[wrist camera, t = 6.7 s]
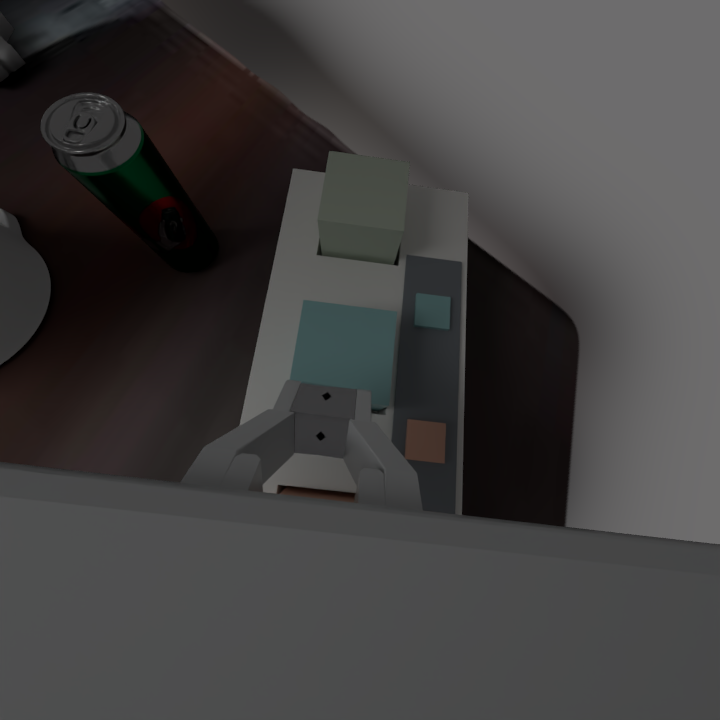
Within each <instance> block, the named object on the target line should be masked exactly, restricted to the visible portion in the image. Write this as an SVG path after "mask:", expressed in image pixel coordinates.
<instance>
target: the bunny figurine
mask: <svg viewBox="0 0 720 720" xmlns="http://www.w3.org/2000/svg"><path fill="white" fill-rule="evenodd" d="M13 31H14V28H13V27H12V26H11V25H10V23H9V22H8V21H7V20H6V18H5V17H4V16H3V15H2V13H1V12H0V82H1V81H3V80H4V79H5V78H7V77H8V76H9V74H10V73H12V72H15V71H16V70H17V69H19V68H20V67H22V66H23V65H24V64H26V63H25V61H24V60H23V59H22V58H21V57H20V56H19V54H18V53H17V52H16V51H15V50H14V48H13V47H12V46H11V45H10V44H8V43H7V41H8V39H9V38H10V36H11V34H12V32H13Z"/></svg>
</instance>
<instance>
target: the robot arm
mask: <svg viewBox="0 0 720 720" xmlns="http://www.w3.org/2000/svg"><path fill="white" fill-rule="evenodd" d="M50 292H51V281H50V275H49V271H48V269H47V266H46V264H45V262H44V260H43V259H42V257H41V256H40V255H39V253H38V252H37V251H36V250H35V249H34V248H33V247H32V246H30V245H29V244H28V243H27V242H26V241H25V239H24V238H23V237H22V233H21V229H20V226H19V223H18V221H17V219H16V217H15V216H14V215H12V214H10V213H8V212H6V211H5V210H3V209H1V208H0V365H1V364H2V363H4V362H5V361H6V360H8V359H9V358H10V357H12V356H13V355H14V354H15V353H16V352H18V351H19V350H20V349H21V348H22V347H23V346H24V345H25V344H26V343H27V341H28V340H29V339H30V338H31V337H32V335H33V334H34V333H35V331H36V330H37V328H38V327H39V325H40V323H41V321H42V319H43V317H44V315H45V313H46V310H47V307H48V304H49V299H50ZM294 453H301V454H312V455H321V456H328V457H335V458H342V459H344V462H345V464H346V466H347V468H348V470H349V472H350V474H351V476H352V478H353V480H354V482H355V484H356V486H357V489H356V494H355V498H354V503H353V502H344V501H336V500H327V499H318V498H310V497H301V496H292V495H284V494H275V493H266V492H263V484H264V483H265V482H266V481H267V480H268V479H269V478H270V477H271V476H272V475H273V474H274V473H275V472H276V471H277V470H278V469H279V468H280V467H281V466H282V465H283V464H284V463H286V462H287V461H288V460H289V459H290V458H291V457H292V456H293V455H294ZM0 720H720V544H709V543H701V542H692V541H684V540H675V539H666V538H657V537H648V536H639V535H631V534H622V533H613V532H605V531H595V530H587V529H579V528H570V527H561V526H553V525H544V524H535V523H527V522H518V521H509V520H501V519H492V518H483V517H475V516H466V515H457V514H449V513H440V512H431V511H423V509H422V502H421V496H420V489H419V483H418V476H417V473H416V471H415V470H414V469H413V468H412V466H411V465H410V464H409V463H408V462H407V460H406V459H405V458H404V457H403V455H402V454H401V453H400V452H399V451H398V449H397V448H396V447H395V446H394V444H393V443H392V442H391V441H390V440H389V438H388V437H387V436H386V435H385V433H384V432H383V431H382V430H381V429H380V427H379V426H378V425H377V424H376V423H375V422H371V390H365V389H352V388H344V387H336V386H329V385H323V384H316V383H309V382H303V381H302V382H301V381H295V380H287V381H286V382H285V384H284V386H283V388H282V390H281V392H280V395H279V397H278V399H277V401H276V403H275V405H274V408H273V409H268V410H266V411H264V412H262V413H261V414H259V415H257V416H256V417H254V418H252V419H251V420H249V421H247V422H246V423H244V424H242V425H240V426H239V427H237V428H235V429H234V430H232V431H230V432H229V433H227V434H225V435H223V436H222V437H220V438H218V439H217V440H215V441H213V442H212V443H210V444H208V445H207V446H205V447H204V448H203V449H202V451H201V452H200V454H199V455H198V457H197V458H196V460H195V461H194V463H193V464H192V466H191V467H190V469H189V470H188V472H187V473H186V475H185V476H184V478H183V479H182V481H181V482H180V483H179V482H170V481H162V480H153V479H144V478H136V477H127V476H118V475H110V474H101V473H92V472H83V471H75V470H66V469H57V468H49V467H40V466H31V465H22V464H14V463H5V462H0Z"/></svg>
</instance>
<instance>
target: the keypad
mask: <svg viewBox="0 0 720 720" xmlns="http://www.w3.org/2000/svg"><path fill="white" fill-rule="evenodd" d="M324 179H325V173H323V172H315V171H308V170H301V169H294V168H293V172H292V177H291V181H290V186H289V191H288V196H287V201H286V205H285V210H284V215H283V220H282V224H281V229H280V234H279V239H278V244H277V248H276V253H275V258H274V263H273V268H272V272H271V277H270V282H269V287H268V292H267V296H266V301H265V306H264V311H263V316H262V320H261V325H260V330H259V335H258V340H257V344H256V349H255V354H254V359H253V364H252V368H251V373H250V378H249V383H248V388H247V392H246V397H245V402H244V407H243V412H242V416H241V421H240V425H242V424H244V423H246V422H247V421H249V420H251V419H252V418H254V417H256V416H257V415H259V414H261V413H262V412H264V411H266V410H268V409H273V408H274V405H275V403H276V401H277V399H278V397H279V395H280V392H281V390H282V388H283V386H284V384H285V382H286V381H287V380H290V375H291V369H292V363H293V357H294V352H295V346H296V340H297V334H298V329H299V323H300V317H301V311H302V306H303V300H309V301H317V302H325V303H333V304H341V305H349V306H357V307H365V308H373V309H381V310H389V311H397V319H396V331H395V343H394V354H393V366H392V378H391V390H390V401H389V406H388V407H386V408H383V409H381V410H379V411H374V410H371V422H375V423H376V424H377V425H378V426H379V427H380V429H381V430H382V431H383V432H384V433H385V435H386V436H387V437H388V438H389V440H390V441H391V442H392V443H393V444H394V446H395V447H396V448H397V449H398V451H399V452H400V453H401V454H402V455H403V457H404V458H405V459H406V460H407V462H408V463H409V464H410V465H411V466H412V468H413V469H414V470H415V471H416V473H417V476H418V483H419V489H420V496H421V502H422V509H423V511H431V512H440V513H449V514H457V515H462V482H463V435H464V387H465V340H466V293H467V246H468V197H469V196H468V195H469V193H466V192H459V191H452V190H444V189H438V188H429V187H423V186H416V185H408V189H407V201H406V213H405V225H404V233H403V236H402V239H401V243H400V246H399V249H398V252H397V256H396V259H395V262H394V265H388V264H381V263H373V262H365V261H358V260H350V259H343V258H335V257H327V256H322V252H321V244H320V236H319V228H318V221H317V219H318V213H319V207H320V202H321V196H322V190H323V184H324ZM287 486H295V487H305V488H314V489H323V490H332V491H342V492H351V493H356V489H357V486H356V484H355V482H354V480H353V478H352V476H351V474H350V472H349V470H348V468H347V466H346V464H345V462H344V459H342V458H335V457H328V456H321V455H312V454H301V453H294V455H293V456H292V457H291V458H290V459H289V460H288V461H287V462H286V463H284V464H283V465H282V466H281V467H280V468H279V469H278V470H277V471H276V472H275V473H274V474H273V475H272V476H271V477H270V478H269V479H268V480H267V481H266V482H265V483H264V484H263V492H266V493H275V494H280V493H281V492H282V491H283V490H284V489H285V488H286V487H287Z"/></svg>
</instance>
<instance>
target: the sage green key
mask: <svg viewBox="0 0 720 720" xmlns="http://www.w3.org/2000/svg"><path fill="white" fill-rule="evenodd" d="M409 166H410V162H405V161H398V160H391V159H384V158H375V157H369V156H362V155H355V154H348V153H341V152H334V151H329V155H328V161H327V167H326V173H325V179H324V184H323V190H322V196H321V202H320V207H319V213H318V219H317V221H318V228H319V236H320V244H321V252H322V256H327V257H335V258H343V259H350V260H358V261H365V262H373V263H381V264H388V265H394V262H395V259H396V256H397V252H398V249H399V246H400V243H401V239H402V236H403V233H404V225H405V213H406V201H407V189H408V176H409Z"/></svg>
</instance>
